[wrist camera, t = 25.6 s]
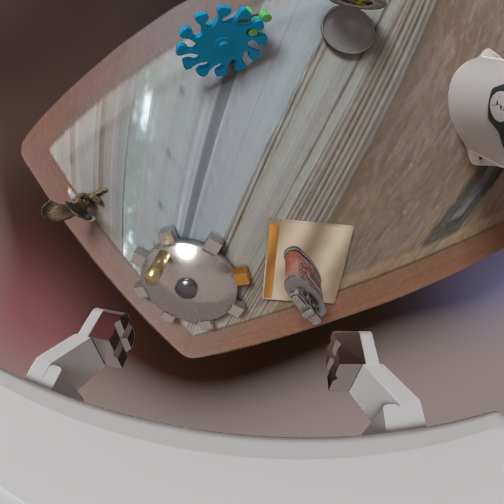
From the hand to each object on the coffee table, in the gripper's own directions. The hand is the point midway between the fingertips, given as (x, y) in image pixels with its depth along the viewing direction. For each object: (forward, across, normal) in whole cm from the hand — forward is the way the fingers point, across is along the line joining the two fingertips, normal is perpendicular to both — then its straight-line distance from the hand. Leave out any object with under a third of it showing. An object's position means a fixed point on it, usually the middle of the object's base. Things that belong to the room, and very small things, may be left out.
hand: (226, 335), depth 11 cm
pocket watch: (+31, -10, -18) cm, 37 cm away
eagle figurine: (+30, +27, +8) cm, 41 cm away
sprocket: (+30, +11, +22) cm, 39 cm away
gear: (+32, +3, -11) cm, 34 cm away
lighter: (+30, -7, +17) cm, 35 cm away
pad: (+30, -7, +17) cm, 36 cm away
